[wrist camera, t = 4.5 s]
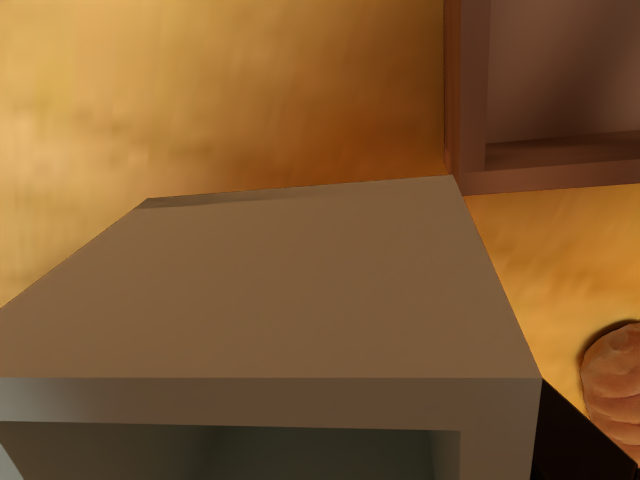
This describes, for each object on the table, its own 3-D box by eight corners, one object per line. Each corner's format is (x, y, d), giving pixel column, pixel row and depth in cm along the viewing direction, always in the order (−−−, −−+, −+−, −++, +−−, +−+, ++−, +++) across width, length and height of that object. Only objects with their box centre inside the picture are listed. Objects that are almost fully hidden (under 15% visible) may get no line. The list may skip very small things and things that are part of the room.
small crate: (215, 410, 11) (108, 657, 7) (147, 198, 9) (-92, 376, 4) (451, 414, 10) (500, 707, 6) (452, 174, 8) (542, 377, 3)
